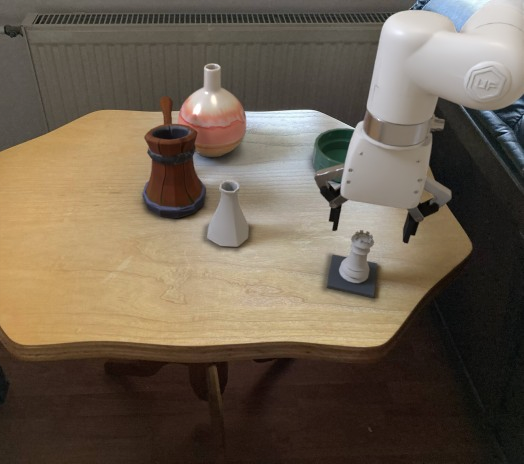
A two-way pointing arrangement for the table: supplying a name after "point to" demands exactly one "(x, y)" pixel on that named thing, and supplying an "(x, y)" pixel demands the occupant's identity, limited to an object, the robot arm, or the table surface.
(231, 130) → the vase
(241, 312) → the table surface
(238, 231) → the flask
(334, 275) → the mat
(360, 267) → the rook chess piece
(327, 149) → the bowl
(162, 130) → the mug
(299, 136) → the table surface
